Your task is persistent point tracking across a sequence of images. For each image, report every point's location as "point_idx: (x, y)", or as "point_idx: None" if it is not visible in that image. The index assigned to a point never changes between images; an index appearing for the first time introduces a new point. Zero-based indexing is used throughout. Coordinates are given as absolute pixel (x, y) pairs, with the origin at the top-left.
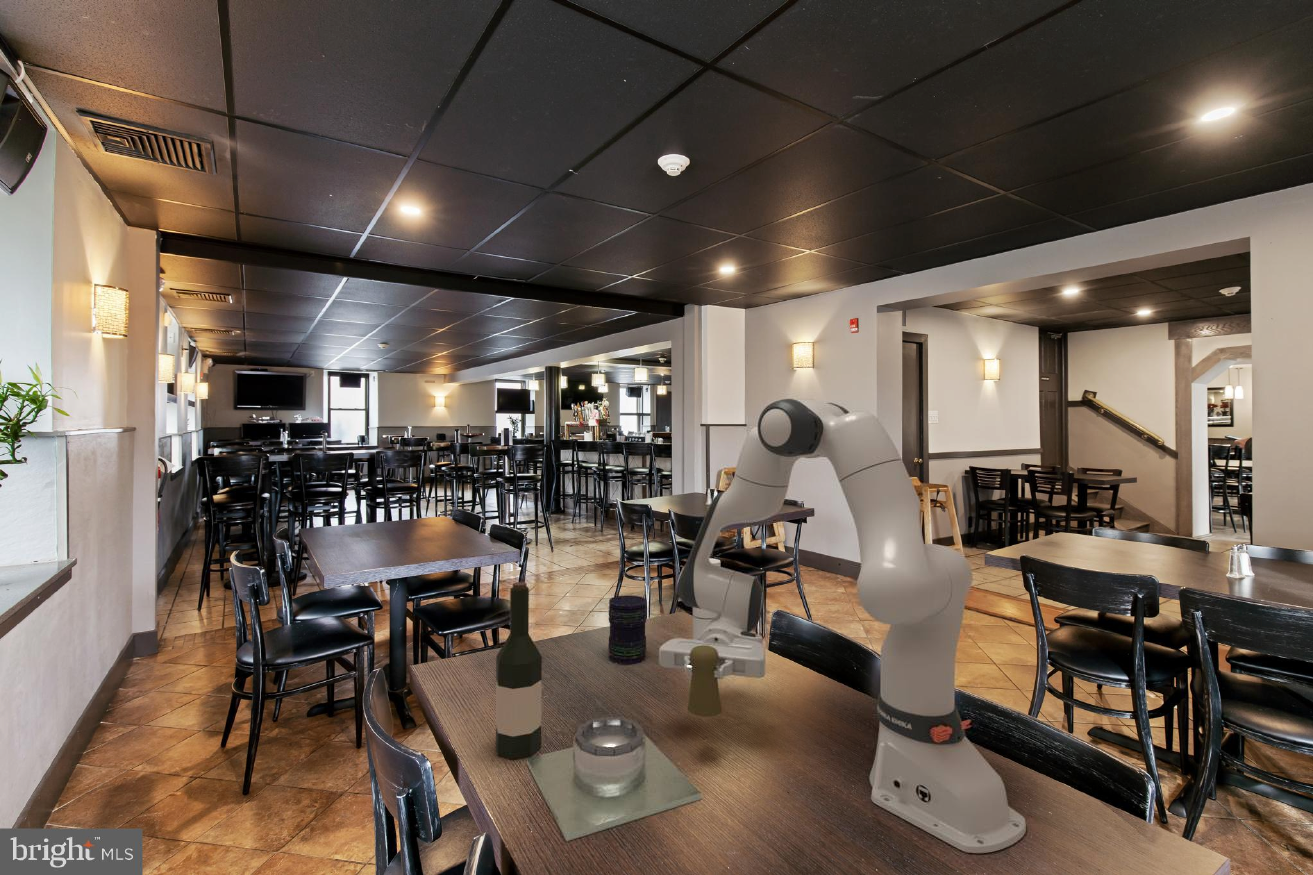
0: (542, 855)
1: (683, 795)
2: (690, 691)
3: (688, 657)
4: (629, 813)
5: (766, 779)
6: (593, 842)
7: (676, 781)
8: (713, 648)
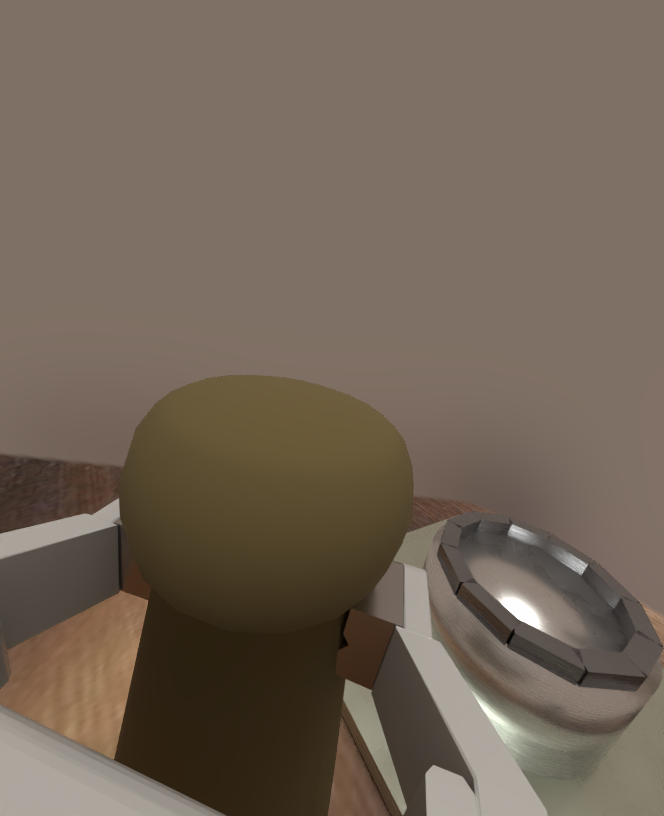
0: (467, 509)
1: None
2: None
3: (474, 804)
4: None
5: (61, 664)
6: (424, 518)
7: None
8: (190, 390)
